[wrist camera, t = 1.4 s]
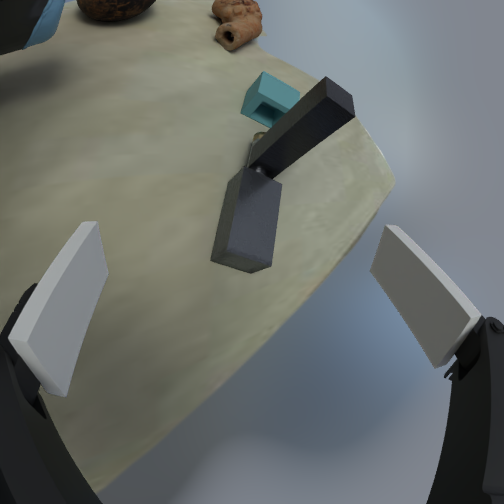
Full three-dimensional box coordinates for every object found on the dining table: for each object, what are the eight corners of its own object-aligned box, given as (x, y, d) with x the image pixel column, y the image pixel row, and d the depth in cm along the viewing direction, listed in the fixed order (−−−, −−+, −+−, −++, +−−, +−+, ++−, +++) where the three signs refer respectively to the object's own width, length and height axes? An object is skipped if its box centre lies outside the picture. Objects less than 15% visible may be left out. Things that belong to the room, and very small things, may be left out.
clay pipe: (253, 44, 59) (222, 6, 52) (284, 26, 52) (250, -15, 44) (217, 61, 50) (178, 16, 42) (252, 37, 43) (209, -12, 35)
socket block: (278, 132, 48) (298, 114, 43) (240, 113, 45) (257, 91, 40) (281, 109, 50) (299, 92, 45) (247, 91, 47) (263, 70, 42)
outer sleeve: (251, 273, 38) (271, 266, 34) (210, 260, 36) (226, 251, 31) (263, 198, 42) (282, 184, 38) (228, 182, 40) (244, 166, 36)
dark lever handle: (250, 256, 38) (363, 203, 22) (223, 246, 36) (328, 182, 20) (268, 148, 44) (349, 78, 28) (247, 138, 43) (324, 60, 27)
